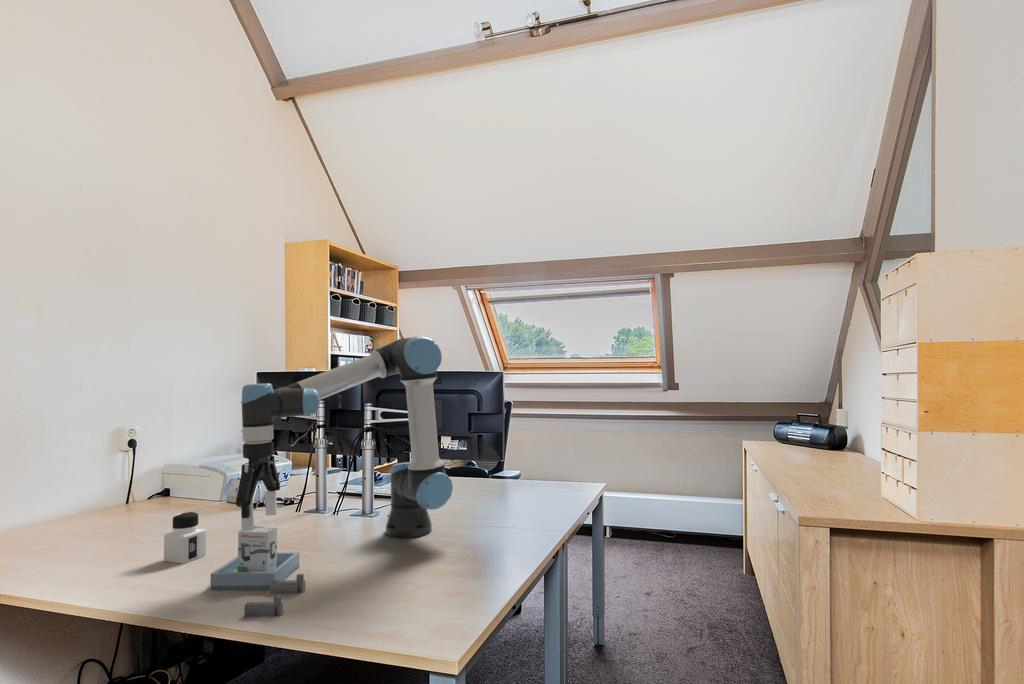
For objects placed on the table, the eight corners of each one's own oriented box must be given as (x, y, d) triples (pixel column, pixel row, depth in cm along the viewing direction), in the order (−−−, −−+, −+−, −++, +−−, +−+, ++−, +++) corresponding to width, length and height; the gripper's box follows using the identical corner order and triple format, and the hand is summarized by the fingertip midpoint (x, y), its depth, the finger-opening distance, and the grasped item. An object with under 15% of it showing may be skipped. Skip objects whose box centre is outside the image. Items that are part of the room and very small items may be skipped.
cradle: (305, 590, 138) (305, 573, 139) (280, 616, 124) (280, 597, 124) (273, 590, 138) (273, 574, 139) (244, 616, 124) (244, 598, 124)
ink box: (236, 577, 145) (236, 530, 146) (247, 570, 150) (247, 525, 151) (267, 578, 144) (267, 531, 145) (277, 571, 149) (277, 526, 150)
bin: (299, 566, 155) (299, 552, 155) (274, 589, 139) (274, 573, 139) (242, 567, 155) (242, 552, 155) (210, 590, 139) (210, 573, 140)
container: (206, 555, 166) (206, 511, 166) (183, 564, 159) (184, 517, 159) (186, 553, 168) (187, 509, 169) (163, 561, 161) (163, 515, 162)
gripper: (265, 435, 161) (267, 510, 161) (219, 449, 136) (221, 537, 136) (291, 434, 161) (293, 509, 161) (249, 448, 136) (251, 536, 136)
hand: (260, 522), depth 148 cm, fingers open, 13 cm apart
